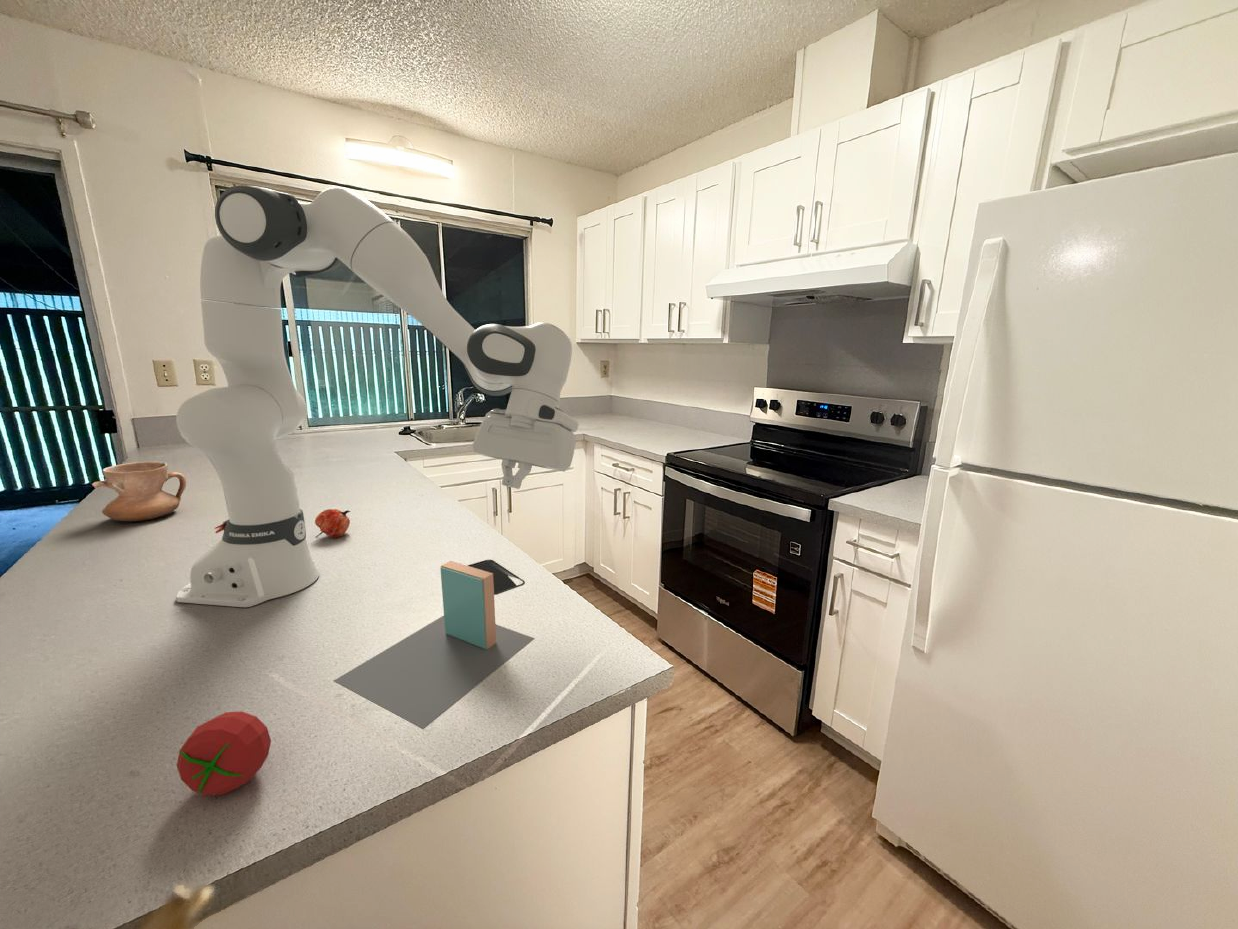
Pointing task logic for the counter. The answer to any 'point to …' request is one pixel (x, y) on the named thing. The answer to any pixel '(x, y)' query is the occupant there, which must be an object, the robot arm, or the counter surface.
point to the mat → (429, 671)
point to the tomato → (223, 753)
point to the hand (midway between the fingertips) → (510, 487)
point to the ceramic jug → (140, 491)
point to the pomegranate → (332, 522)
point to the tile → (468, 604)
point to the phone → (498, 575)
